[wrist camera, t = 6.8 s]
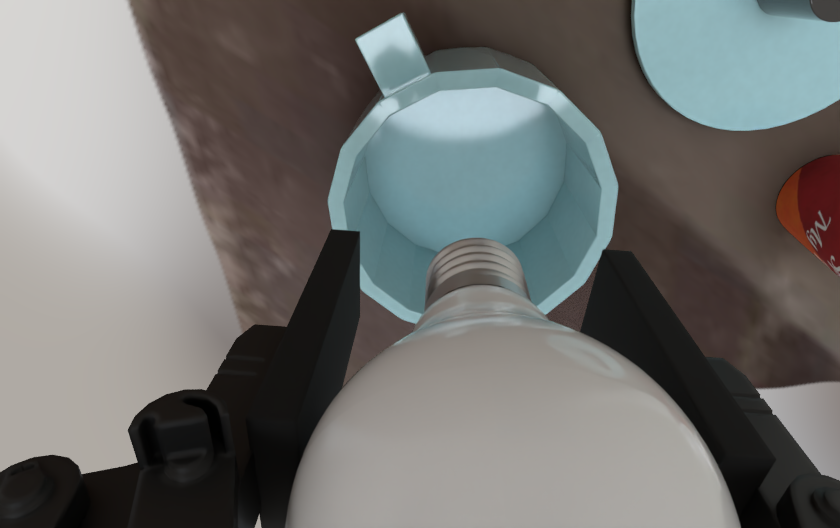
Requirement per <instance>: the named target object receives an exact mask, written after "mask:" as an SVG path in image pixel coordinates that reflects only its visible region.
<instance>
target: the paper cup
mask: <svg viewBox="0 0 840 528" xmlns="http://www.w3.org/2000/svg"><path fill="white" fill-rule="evenodd" d="M776 212H777V216H778V219H779V221H780V222H781V224H782V225H783V226H784V227H785V228H786V229H787V230H788V231H789V232H790V233H791V234H792V235H793V236H794V237H795V238H796V239H797V240H798V241H799V242H800V243H802V244H803V245H804V246H805V247H806V248H807V249H808V250H809V251H811V252H812V253H813V254H814V255H815V256H816V257H817V258H818V259H820V260H821V261H822V262H823V263H824V264H825V265H826V266H828V267H829V268H830V269H831V270H832V271H833V272H834V273H836V274H837V275H838V276H839V277H840V155H831V156H826V157H822V158H819V159H816V160H814V161H812V162H810V163H808V164H806V165H805V166H803V167H801V168H800V169H799V170H798V171H796V172H795V173H794V174H793V175H792V176H791V177H790V178H789V179H788V180H787V182H786V183H785V184H784V186H783V187H782V189H781V191H780V193H779V196H778V199H777V204H776Z"/></svg>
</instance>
